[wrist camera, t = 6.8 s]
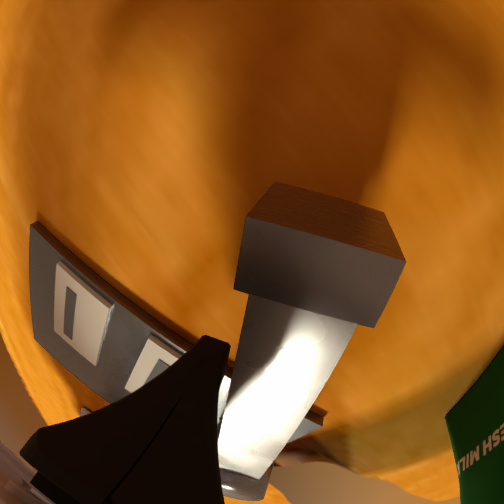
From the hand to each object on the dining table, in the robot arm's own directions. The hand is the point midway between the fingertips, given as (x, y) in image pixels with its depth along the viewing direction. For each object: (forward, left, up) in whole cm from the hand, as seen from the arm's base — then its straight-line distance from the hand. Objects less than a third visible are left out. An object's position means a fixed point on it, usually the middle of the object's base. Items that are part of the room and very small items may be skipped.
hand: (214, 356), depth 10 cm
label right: (-7, +1, -3) cm, 8 cm away
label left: (-7, +7, -3) cm, 11 cm away
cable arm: (-1, -3, -2) cm, 3 cm away
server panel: (-10, +2, -3) cm, 10 cm away
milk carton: (+6, -16, -3) cm, 17 cm away
